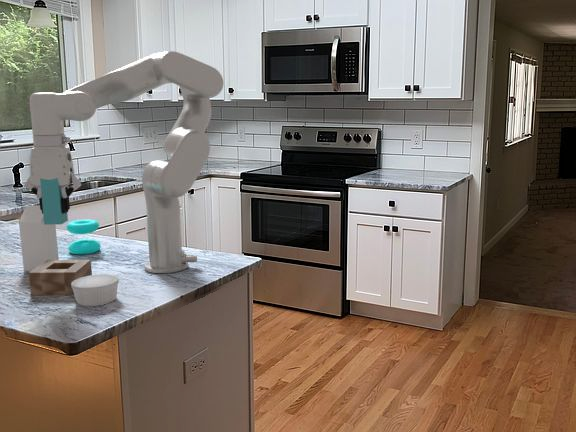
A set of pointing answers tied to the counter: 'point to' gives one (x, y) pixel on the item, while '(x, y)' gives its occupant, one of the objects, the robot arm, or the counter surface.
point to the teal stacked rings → (84, 244)
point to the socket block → (57, 276)
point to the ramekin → (95, 289)
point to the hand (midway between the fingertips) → (55, 211)
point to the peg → (52, 202)
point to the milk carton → (36, 238)
